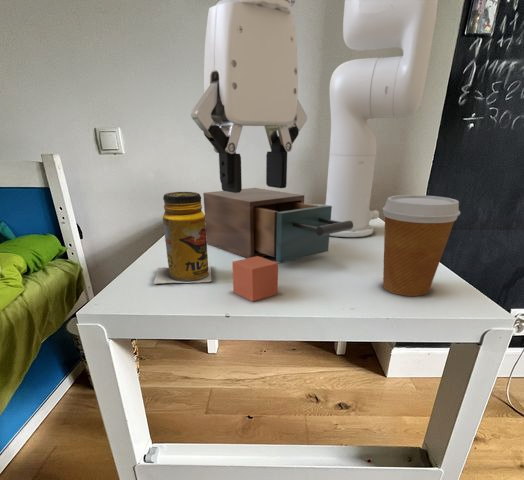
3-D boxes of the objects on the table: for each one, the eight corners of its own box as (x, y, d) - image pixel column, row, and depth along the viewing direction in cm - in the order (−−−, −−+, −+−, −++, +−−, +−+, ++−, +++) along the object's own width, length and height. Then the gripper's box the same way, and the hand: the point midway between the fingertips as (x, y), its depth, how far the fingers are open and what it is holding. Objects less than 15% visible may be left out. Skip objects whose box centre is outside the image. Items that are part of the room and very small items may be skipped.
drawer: (357, 259, 65) (363, 211, 61) (309, 273, 59) (313, 219, 55) (278, 237, 79) (279, 197, 75) (232, 246, 72) (231, 202, 69)
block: (258, 285, 56) (257, 255, 54) (277, 294, 53) (278, 262, 51) (233, 292, 54) (232, 261, 52) (252, 301, 51) (252, 269, 49)
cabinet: (301, 247, 75) (304, 195, 71) (250, 259, 68) (249, 201, 64) (255, 234, 85) (255, 187, 80) (206, 243, 78) (203, 192, 74)
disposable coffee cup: (358, 281, 58) (369, 196, 52) (411, 274, 61) (427, 193, 55) (398, 304, 50) (416, 207, 44) (456, 295, 53) (480, 203, 47)
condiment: (211, 282, 58) (206, 196, 52) (153, 284, 57) (141, 197, 51) (210, 267, 64) (205, 189, 58) (158, 269, 63) (147, 190, 57)
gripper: (291, 17, 46) (286, 182, 54) (155, -14, 36) (176, 192, 45) (340, 2, 41) (326, 187, 49) (197, -39, 31) (211, 199, 40)
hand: (254, 187), depth 47 cm, fingers open, 6 cm apart
